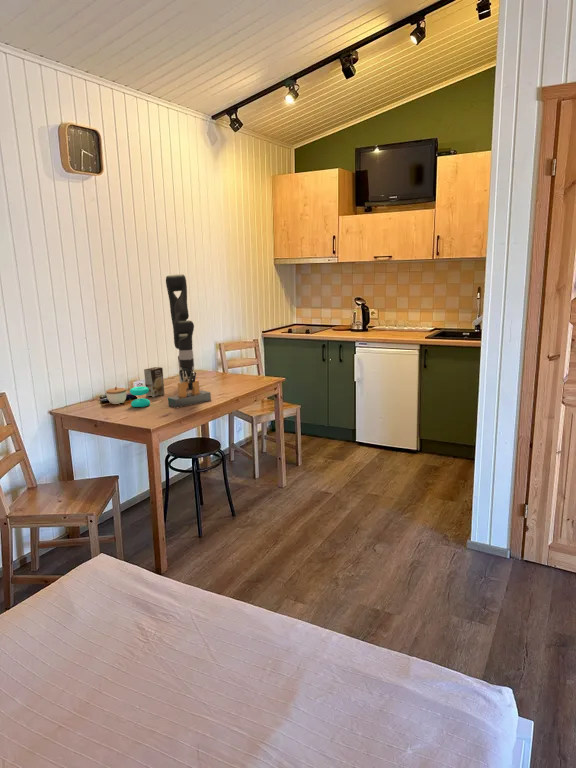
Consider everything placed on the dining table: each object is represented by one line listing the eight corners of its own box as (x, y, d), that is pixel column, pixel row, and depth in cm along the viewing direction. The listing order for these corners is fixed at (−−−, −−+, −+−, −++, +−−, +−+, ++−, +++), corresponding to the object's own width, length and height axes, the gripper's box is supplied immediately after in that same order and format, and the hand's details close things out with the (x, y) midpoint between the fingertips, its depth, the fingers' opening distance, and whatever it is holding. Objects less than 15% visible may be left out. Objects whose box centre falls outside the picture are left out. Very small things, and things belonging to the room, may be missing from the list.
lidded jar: (111, 401, 305) (109, 385, 303) (129, 400, 305) (128, 384, 303) (104, 406, 295) (102, 389, 293) (124, 405, 295) (122, 388, 293)
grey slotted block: (168, 405, 290) (167, 397, 289) (203, 398, 304) (202, 390, 303) (176, 408, 284) (175, 399, 283) (211, 400, 298) (210, 392, 297)
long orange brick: (178, 396, 291) (177, 383, 289) (196, 393, 298) (195, 380, 296) (182, 397, 288) (180, 384, 287) (199, 394, 295) (198, 380, 294)
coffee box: (154, 397, 311) (151, 370, 308) (146, 396, 314) (143, 369, 311) (165, 394, 319) (162, 367, 315) (156, 393, 322) (154, 366, 318)
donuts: (134, 390, 283) (126, 388, 291) (136, 409, 285) (128, 406, 293) (152, 387, 290) (143, 385, 297) (153, 405, 292) (144, 402, 299)
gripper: (173, 357, 292) (176, 388, 295) (187, 360, 281) (189, 392, 285) (185, 355, 297) (187, 386, 300) (199, 358, 286) (201, 389, 290)
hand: (188, 389), depth 292 cm, fingers closed on long orange brick, 3 cm apart
